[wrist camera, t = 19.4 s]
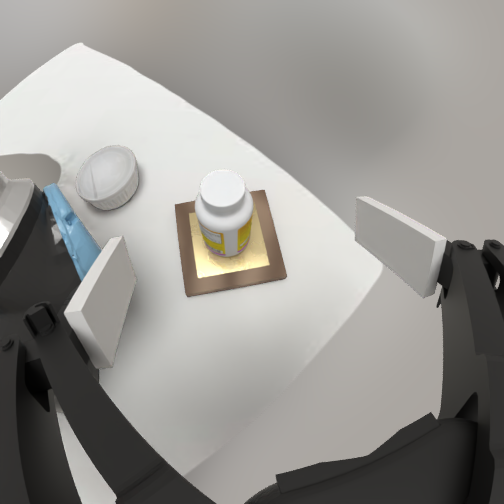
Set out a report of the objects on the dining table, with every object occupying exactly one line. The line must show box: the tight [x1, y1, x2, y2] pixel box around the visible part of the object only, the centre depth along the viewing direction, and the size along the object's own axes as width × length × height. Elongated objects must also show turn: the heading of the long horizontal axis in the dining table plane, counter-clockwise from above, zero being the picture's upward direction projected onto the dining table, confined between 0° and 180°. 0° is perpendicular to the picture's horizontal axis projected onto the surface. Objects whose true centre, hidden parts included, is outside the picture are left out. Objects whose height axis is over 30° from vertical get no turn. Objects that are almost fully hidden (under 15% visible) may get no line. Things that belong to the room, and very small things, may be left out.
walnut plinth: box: [175, 190, 287, 297], centre depth 40 cm, size 14×14×2 cm
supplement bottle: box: [195, 169, 253, 257], centre depth 33 cm, size 7×7×13 cm
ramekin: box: [76, 145, 139, 210], centre depth 41 cm, size 11×11×5 cm
